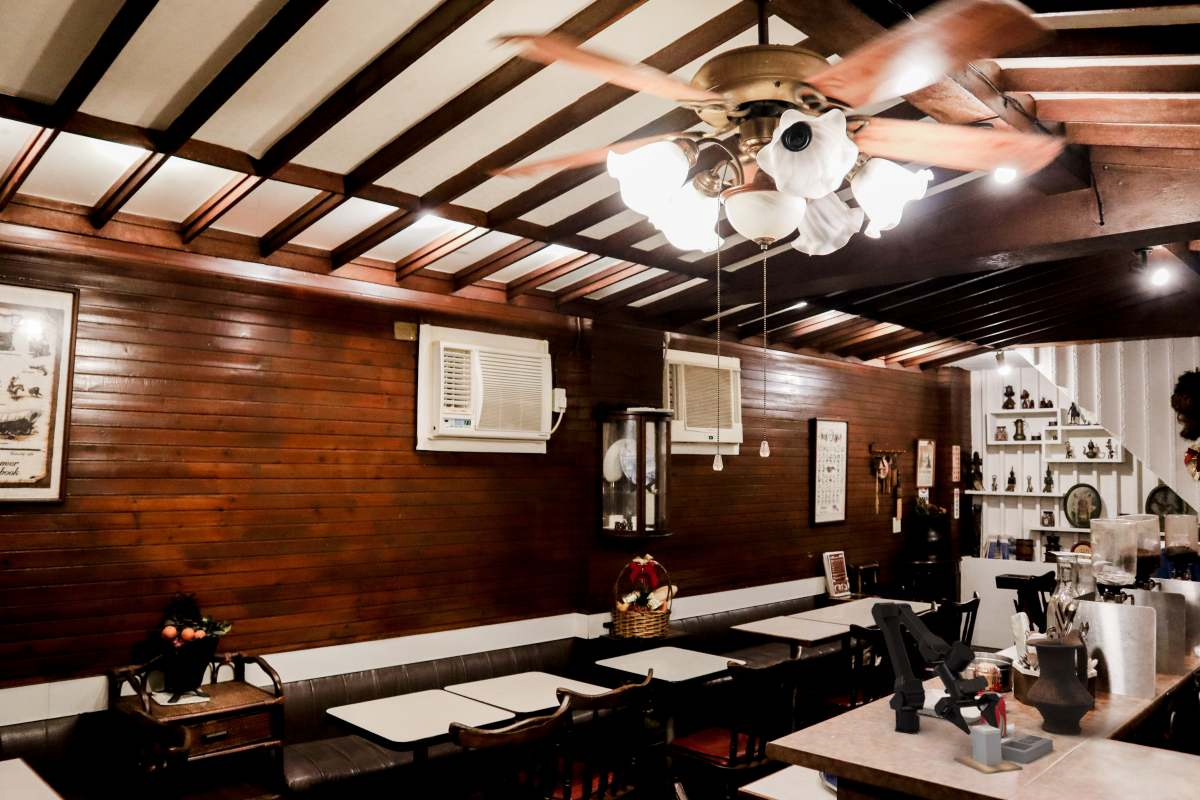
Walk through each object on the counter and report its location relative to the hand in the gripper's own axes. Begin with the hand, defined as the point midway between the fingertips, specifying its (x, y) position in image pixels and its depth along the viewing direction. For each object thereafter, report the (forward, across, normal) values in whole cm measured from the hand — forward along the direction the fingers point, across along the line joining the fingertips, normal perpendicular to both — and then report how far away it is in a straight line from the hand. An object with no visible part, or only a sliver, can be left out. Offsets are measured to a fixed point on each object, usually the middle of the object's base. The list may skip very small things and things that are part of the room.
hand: (983, 732), depth 231 cm
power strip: (+3, +17, +8) cm, 19 cm away
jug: (-6, +46, +18) cm, 50 cm away
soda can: (-8, +22, +20) cm, 31 cm away
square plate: (-26, +28, +39) cm, 55 cm away
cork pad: (+6, 0, +5) cm, 8 cm away
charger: (+6, 0, +5) cm, 8 cm away
